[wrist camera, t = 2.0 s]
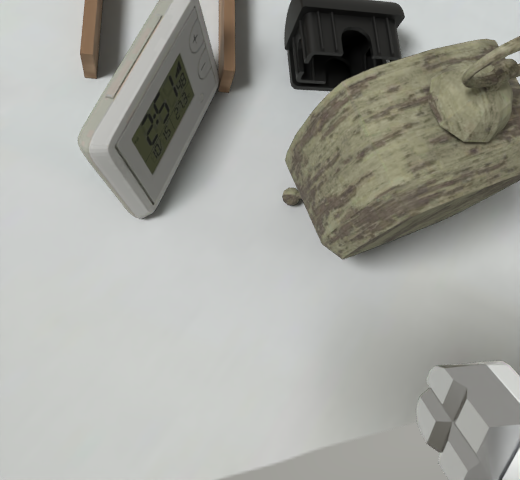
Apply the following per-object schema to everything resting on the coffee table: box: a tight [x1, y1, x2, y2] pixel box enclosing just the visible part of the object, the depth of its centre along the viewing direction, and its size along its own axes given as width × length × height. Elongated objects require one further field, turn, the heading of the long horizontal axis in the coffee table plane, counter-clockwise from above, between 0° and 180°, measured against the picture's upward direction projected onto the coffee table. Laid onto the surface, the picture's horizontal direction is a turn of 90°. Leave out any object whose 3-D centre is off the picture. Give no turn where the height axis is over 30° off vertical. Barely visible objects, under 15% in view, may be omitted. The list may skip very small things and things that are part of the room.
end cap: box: [285, 0, 405, 91], centre depth 48 cm, size 10×7×7 cm
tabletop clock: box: [282, 36, 520, 259], centre depth 35 cm, size 14×9×25 cm, turn 113°
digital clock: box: [78, 0, 219, 219], centre depth 39 cm, size 16×9×11 cm, turn 146°
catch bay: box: [80, 0, 235, 93], centre depth 45 cm, size 18×14×5 cm
